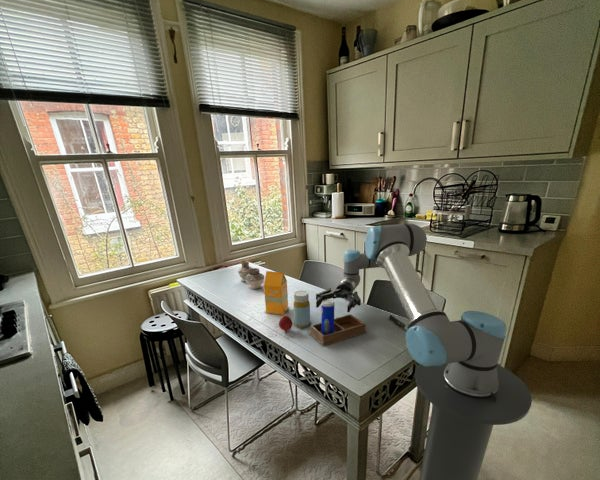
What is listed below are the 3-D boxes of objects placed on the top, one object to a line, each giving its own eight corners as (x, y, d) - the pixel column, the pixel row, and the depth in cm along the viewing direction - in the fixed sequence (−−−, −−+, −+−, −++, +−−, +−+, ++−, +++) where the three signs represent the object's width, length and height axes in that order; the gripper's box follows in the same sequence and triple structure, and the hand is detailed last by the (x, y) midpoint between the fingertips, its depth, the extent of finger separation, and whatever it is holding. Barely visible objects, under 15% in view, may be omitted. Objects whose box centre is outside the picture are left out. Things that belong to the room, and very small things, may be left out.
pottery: (252, 276, 202) (250, 258, 197) (268, 288, 183) (266, 268, 178) (235, 279, 197) (232, 261, 192) (250, 292, 178) (248, 272, 173)
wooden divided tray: (365, 332, 133) (365, 324, 131) (323, 345, 125) (323, 336, 123) (350, 322, 141) (350, 314, 140) (310, 334, 133) (310, 325, 132)
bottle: (292, 327, 139) (291, 295, 133) (296, 319, 145) (295, 289, 139) (308, 328, 138) (307, 297, 131) (311, 321, 144) (310, 290, 138)
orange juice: (282, 314, 151) (280, 275, 142) (265, 312, 153) (262, 273, 145) (288, 307, 157) (286, 269, 149) (272, 305, 160) (269, 268, 152)
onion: (295, 329, 137) (294, 313, 134) (288, 335, 133) (287, 318, 129) (284, 326, 140) (283, 310, 137) (276, 332, 136) (275, 315, 132)
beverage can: (319, 334, 131) (318, 302, 125) (327, 330, 134) (327, 298, 128) (328, 339, 127) (328, 305, 121) (336, 334, 131) (337, 301, 124)
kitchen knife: (388, 318, 143) (389, 315, 142) (390, 318, 143) (391, 314, 143) (415, 337, 128) (416, 333, 127) (417, 337, 128) (418, 333, 127)
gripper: (371, 299, 146) (361, 319, 128) (320, 292, 155) (304, 310, 137) (372, 284, 143) (362, 302, 125) (320, 278, 152) (304, 294, 134)
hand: (332, 306), depth 131 cm, fingers open, 13 cm apart
